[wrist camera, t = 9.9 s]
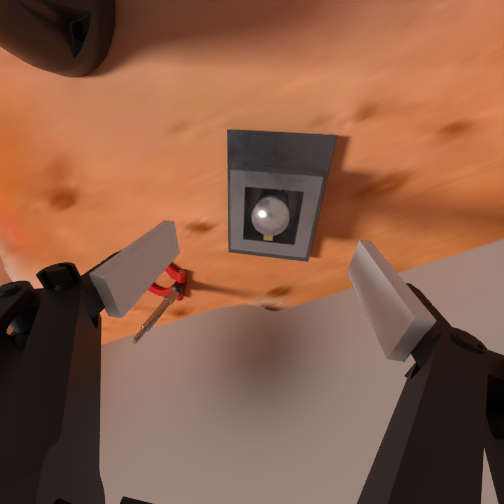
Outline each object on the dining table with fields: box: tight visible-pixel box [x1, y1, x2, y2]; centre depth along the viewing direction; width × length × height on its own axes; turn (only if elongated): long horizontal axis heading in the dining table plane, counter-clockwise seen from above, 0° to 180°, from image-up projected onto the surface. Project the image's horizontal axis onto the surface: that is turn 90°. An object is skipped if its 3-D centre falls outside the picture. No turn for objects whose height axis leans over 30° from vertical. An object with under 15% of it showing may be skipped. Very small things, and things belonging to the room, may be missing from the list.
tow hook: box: [132, 264, 186, 344], centre depth 31 cm, size 8×13×9 cm
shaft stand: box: [227, 129, 337, 262], centre depth 24 cm, size 16×12×7 cm
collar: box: [230, 165, 323, 258], centre depth 23 cm, size 9×9×5 cm
